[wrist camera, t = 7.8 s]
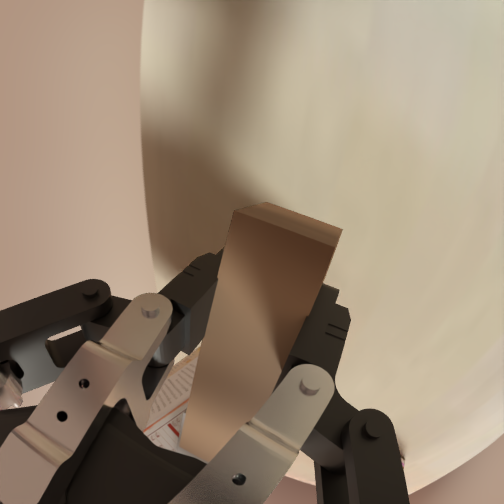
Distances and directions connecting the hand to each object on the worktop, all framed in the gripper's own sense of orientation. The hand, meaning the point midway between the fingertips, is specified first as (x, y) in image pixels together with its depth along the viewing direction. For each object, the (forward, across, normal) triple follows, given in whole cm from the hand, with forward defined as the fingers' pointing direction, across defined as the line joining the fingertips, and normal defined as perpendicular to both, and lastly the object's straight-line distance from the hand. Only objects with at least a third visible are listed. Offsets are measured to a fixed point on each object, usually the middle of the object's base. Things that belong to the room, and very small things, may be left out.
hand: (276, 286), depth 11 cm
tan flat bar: (-1, 0, +6) cm, 6 cm away
